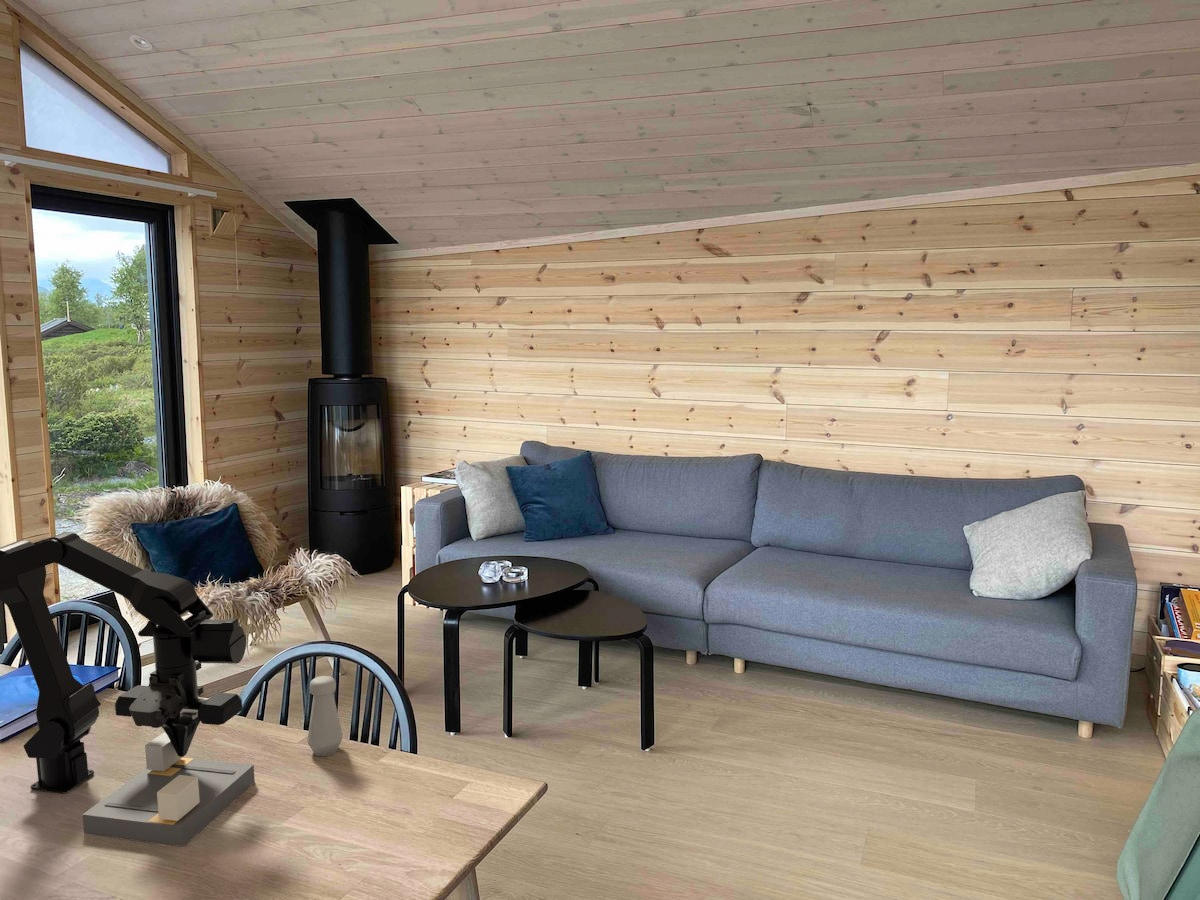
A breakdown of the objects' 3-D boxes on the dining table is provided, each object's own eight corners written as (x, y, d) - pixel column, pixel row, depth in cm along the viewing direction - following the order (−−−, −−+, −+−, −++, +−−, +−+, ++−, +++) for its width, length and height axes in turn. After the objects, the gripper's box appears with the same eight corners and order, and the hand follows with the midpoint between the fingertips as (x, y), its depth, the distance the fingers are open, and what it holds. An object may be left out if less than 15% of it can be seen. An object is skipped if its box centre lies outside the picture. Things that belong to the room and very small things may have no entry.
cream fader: (158, 818, 130) (156, 792, 130) (181, 800, 135) (179, 774, 134) (177, 820, 130) (175, 794, 129) (199, 802, 134) (197, 776, 134)
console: (84, 833, 133) (82, 813, 132) (165, 772, 150) (164, 754, 149) (183, 846, 129) (181, 825, 129) (254, 782, 147) (253, 763, 146)
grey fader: (146, 769, 144) (144, 745, 143) (167, 754, 149) (165, 731, 148) (163, 771, 143) (162, 747, 143) (184, 756, 148) (182, 732, 148)
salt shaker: (332, 760, 154) (329, 687, 152) (301, 757, 155) (297, 684, 153) (349, 744, 160) (346, 673, 158) (318, 741, 161) (315, 670, 159)
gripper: (84, 677, 137) (93, 775, 139) (197, 687, 133) (204, 787, 136) (135, 649, 148) (143, 741, 150) (241, 658, 144) (247, 751, 146)
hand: (182, 755), depth 145 cm, fingers closed
